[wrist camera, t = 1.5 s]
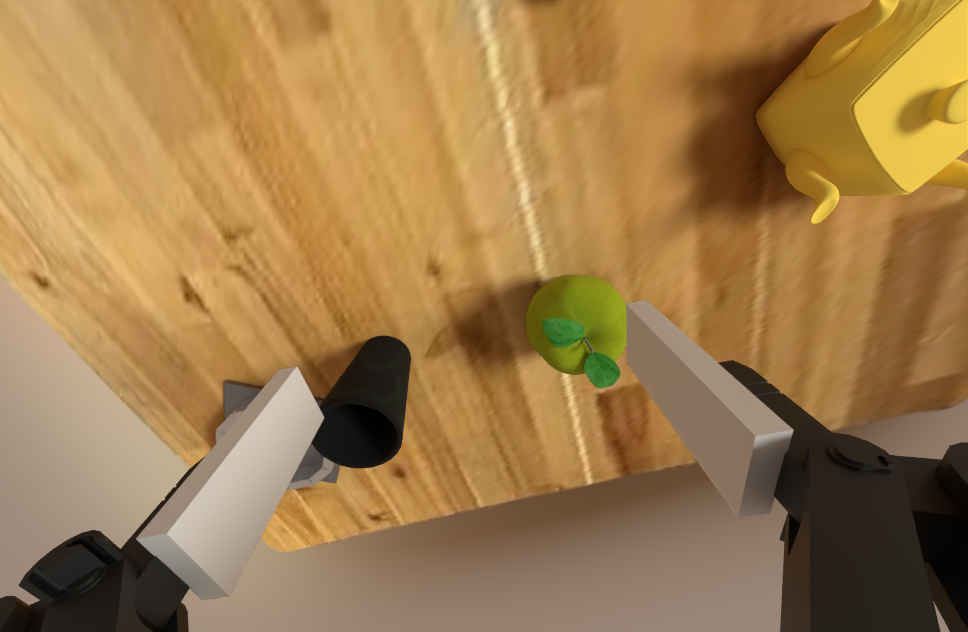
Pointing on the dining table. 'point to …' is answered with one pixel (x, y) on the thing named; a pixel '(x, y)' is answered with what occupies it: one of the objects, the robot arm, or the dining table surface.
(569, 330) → the fruit
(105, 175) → the dining table surface
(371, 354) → the cup
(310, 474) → the duct collar
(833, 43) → the teapot
